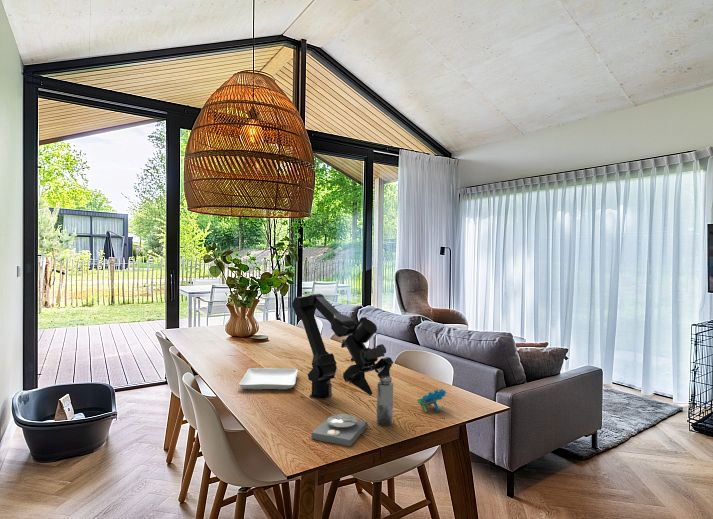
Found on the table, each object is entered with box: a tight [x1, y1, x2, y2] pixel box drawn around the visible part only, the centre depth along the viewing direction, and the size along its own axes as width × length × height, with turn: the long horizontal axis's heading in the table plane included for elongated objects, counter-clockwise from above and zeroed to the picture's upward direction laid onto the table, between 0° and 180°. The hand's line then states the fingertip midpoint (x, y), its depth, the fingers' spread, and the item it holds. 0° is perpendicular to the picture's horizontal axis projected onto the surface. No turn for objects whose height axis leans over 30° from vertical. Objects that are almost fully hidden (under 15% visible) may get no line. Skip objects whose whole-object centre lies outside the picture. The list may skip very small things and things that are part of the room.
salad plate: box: [238, 367, 299, 390], centre depth 174 cm, size 21×21×3 cm
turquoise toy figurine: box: [416, 389, 447, 413], centre depth 150 cm, size 11×6×10 cm
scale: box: [310, 414, 368, 447], centre depth 129 cm, size 12×14×2 cm
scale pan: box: [326, 413, 358, 428], centre depth 130 cm, size 9×9×1 cm
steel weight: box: [376, 375, 394, 427], centre depth 137 cm, size 5×5×14 cm
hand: (381, 391), depth 138 cm, fingers open, 9 cm apart
